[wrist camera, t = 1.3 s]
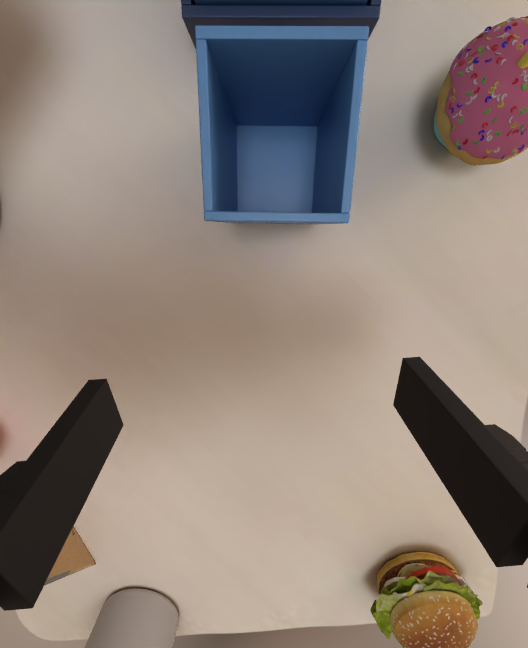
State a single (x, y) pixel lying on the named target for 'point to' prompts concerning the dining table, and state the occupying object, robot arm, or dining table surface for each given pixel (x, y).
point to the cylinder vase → (135, 621)
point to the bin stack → (279, 13)
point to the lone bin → (279, 121)
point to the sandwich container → (70, 558)
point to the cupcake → (487, 97)
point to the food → (425, 603)
